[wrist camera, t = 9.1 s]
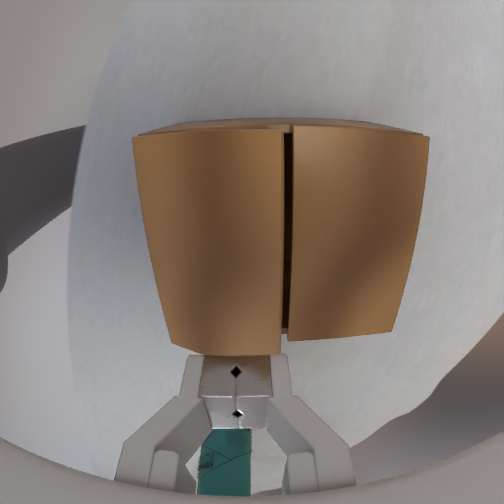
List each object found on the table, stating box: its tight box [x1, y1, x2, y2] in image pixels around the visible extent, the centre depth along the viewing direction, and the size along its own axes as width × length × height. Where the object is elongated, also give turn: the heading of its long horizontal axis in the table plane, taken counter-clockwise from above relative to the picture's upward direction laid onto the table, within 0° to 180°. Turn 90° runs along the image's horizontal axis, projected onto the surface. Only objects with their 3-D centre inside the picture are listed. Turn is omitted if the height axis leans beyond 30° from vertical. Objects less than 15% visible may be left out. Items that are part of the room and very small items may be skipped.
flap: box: [132, 129, 284, 356], centre depth 14 cm, size 7×13×1 cm, turn 1°
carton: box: [138, 118, 430, 341], centre depth 20 cm, size 15×13×10 cm
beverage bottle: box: [197, 428, 252, 496], centre depth 29 cm, size 6×7×20 cm
